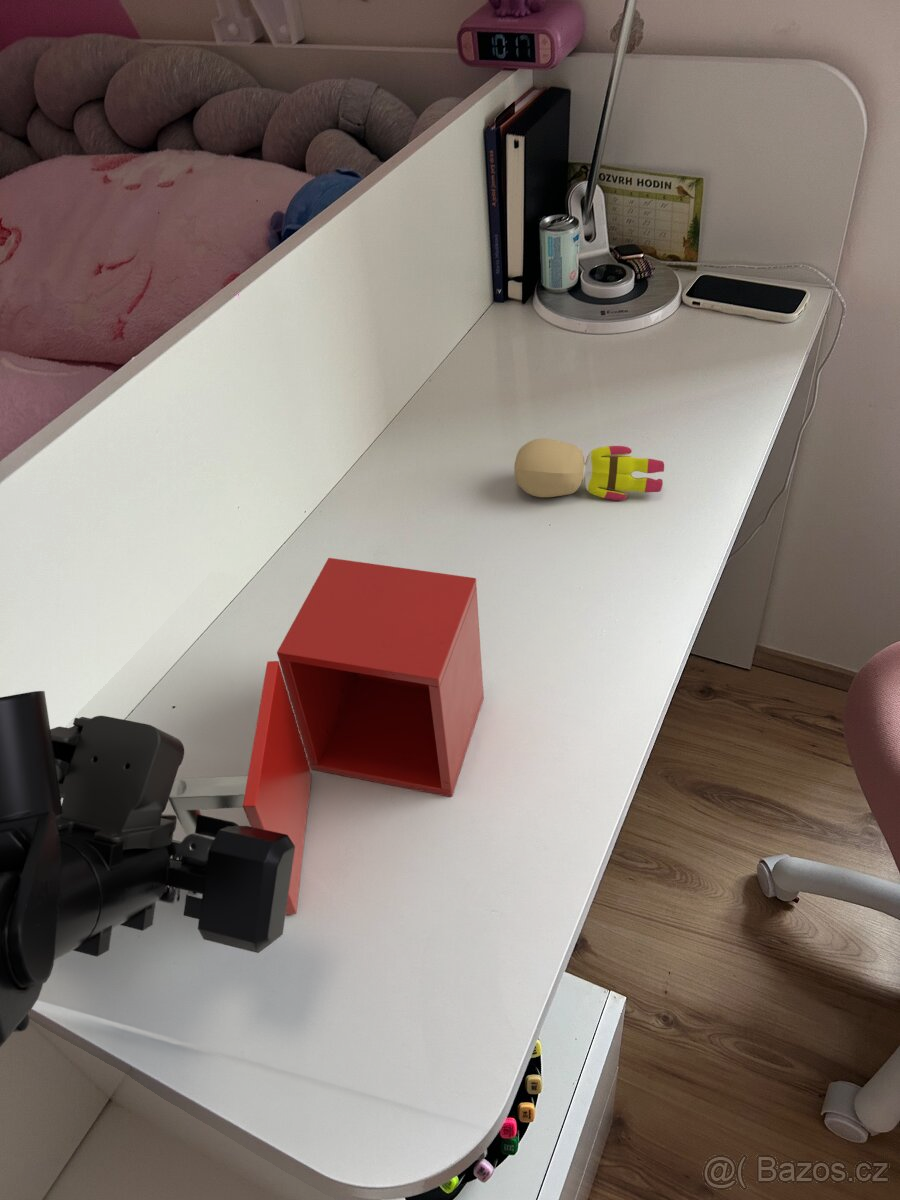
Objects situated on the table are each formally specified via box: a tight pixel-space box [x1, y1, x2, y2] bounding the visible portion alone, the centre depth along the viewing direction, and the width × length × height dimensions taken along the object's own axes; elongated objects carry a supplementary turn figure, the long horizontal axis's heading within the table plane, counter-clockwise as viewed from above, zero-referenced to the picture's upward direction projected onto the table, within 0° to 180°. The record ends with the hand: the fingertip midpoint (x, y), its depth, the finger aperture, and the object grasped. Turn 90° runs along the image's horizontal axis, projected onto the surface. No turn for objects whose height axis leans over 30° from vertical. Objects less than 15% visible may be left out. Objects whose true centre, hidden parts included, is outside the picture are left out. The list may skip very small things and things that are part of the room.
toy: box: [513, 438, 665, 501], centre depth 94 cm, size 6×7×15 cm
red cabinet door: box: [168, 660, 313, 915], centre depth 63 cm, size 6×12×13 cm, turn 1°
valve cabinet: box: [276, 557, 485, 798], centre depth 70 cm, size 10×12×14 cm
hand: (205, 829), depth 62 cm, fingers open, 4 cm apart
